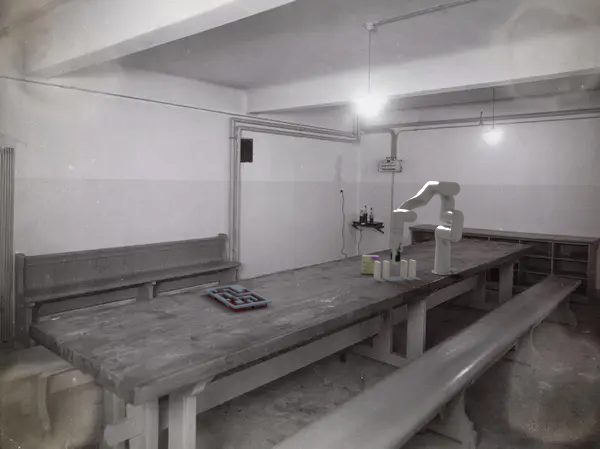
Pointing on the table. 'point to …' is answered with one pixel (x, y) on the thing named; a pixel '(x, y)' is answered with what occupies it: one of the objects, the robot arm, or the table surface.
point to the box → (368, 263)
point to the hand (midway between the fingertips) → (395, 260)
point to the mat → (394, 279)
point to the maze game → (237, 297)
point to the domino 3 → (394, 257)
